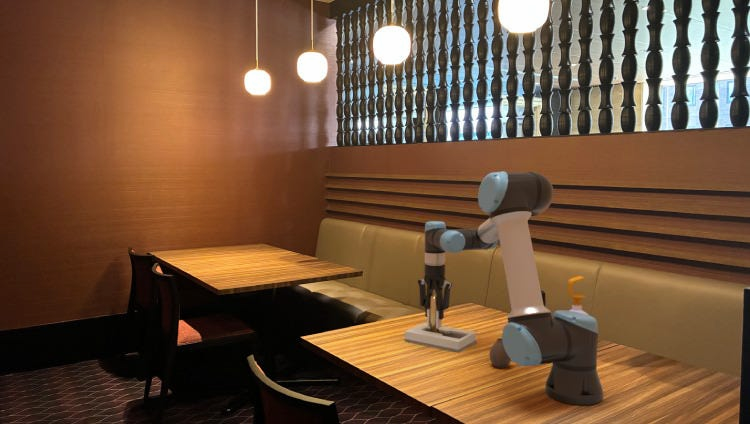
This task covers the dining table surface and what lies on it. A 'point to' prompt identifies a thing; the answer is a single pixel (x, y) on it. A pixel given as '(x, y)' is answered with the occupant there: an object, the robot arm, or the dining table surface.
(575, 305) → the soap bottle
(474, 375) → the dining table surface
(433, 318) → the peg
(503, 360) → the vase
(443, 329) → the board
